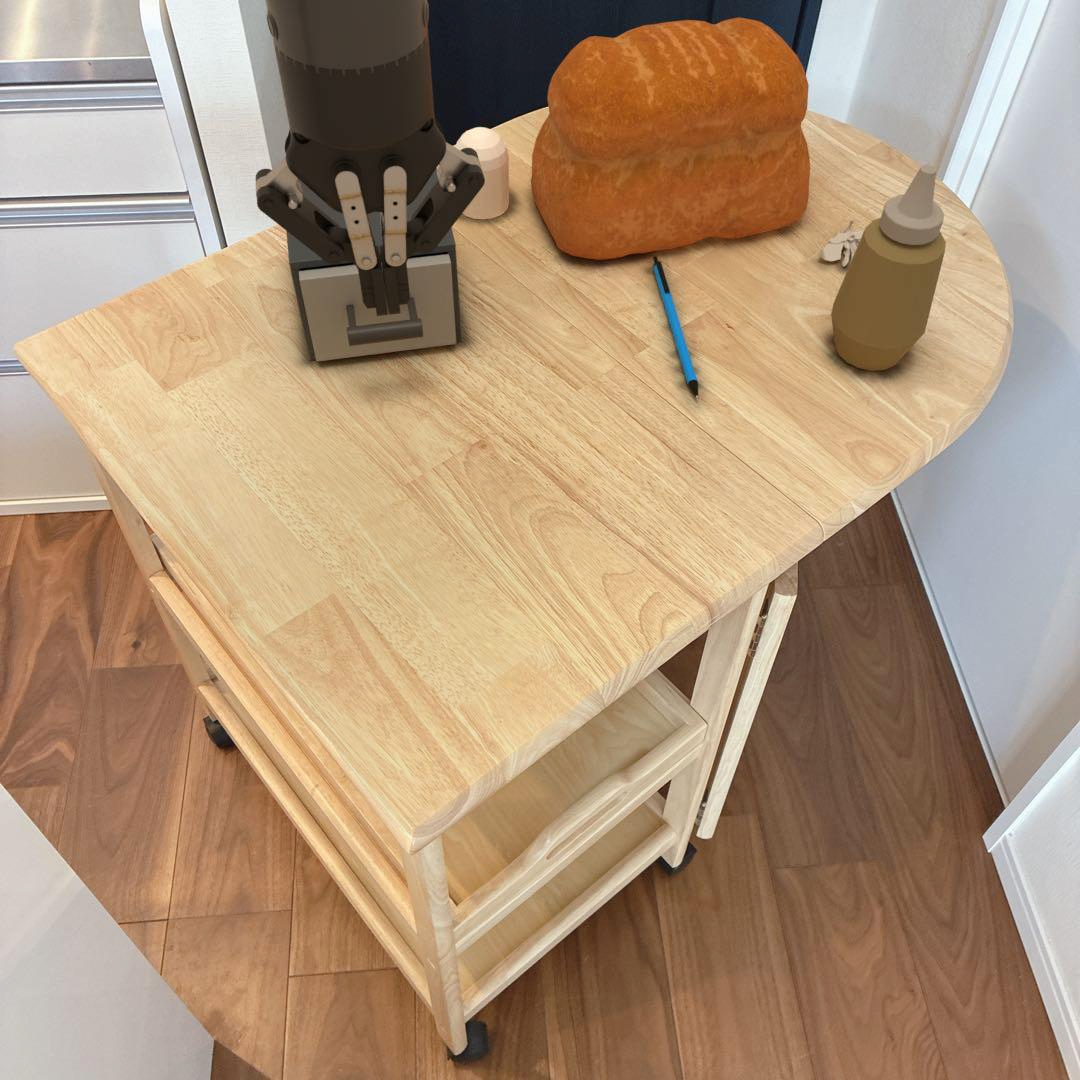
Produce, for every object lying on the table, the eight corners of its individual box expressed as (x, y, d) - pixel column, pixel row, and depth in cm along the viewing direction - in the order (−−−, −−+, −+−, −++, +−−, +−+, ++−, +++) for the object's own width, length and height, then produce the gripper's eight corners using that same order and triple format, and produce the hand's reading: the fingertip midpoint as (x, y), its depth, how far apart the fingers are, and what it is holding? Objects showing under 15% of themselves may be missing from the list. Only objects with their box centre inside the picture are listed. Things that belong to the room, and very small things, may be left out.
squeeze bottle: (924, 338, 95) (994, 157, 81) (899, 393, 91) (968, 212, 76) (838, 309, 97) (891, 129, 83) (809, 362, 93) (860, 181, 79)
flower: (909, 288, 101) (919, 268, 99) (831, 299, 100) (839, 279, 97) (881, 230, 104) (890, 210, 102) (805, 240, 103) (812, 220, 101)
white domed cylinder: (520, 202, 107) (519, 130, 101) (483, 226, 105) (480, 153, 98) (482, 182, 109) (479, 109, 103) (445, 204, 107) (440, 131, 100)
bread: (816, 232, 105) (860, 63, 91) (564, 276, 100) (570, 104, 86) (753, 147, 114) (784, -19, 100) (519, 183, 109) (519, 15, 96)
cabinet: (461, 341, 94) (455, 244, 86) (310, 360, 92) (289, 262, 84) (439, 244, 103) (431, 146, 95) (300, 259, 101) (280, 162, 93)
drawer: (464, 377, 90) (459, 296, 83) (319, 396, 88) (302, 315, 82) (435, 251, 101) (428, 169, 94) (306, 266, 99) (290, 184, 92)
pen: (659, 261, 101) (660, 251, 100) (701, 401, 90) (703, 391, 89) (649, 261, 101) (650, 252, 100) (691, 401, 89) (692, 392, 89)
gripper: (472, -23, 54) (483, 257, 68) (209, -1, 53) (274, 281, 66) (498, 49, 50) (503, 333, 63) (211, 75, 48) (280, 361, 62)
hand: (386, 306), depth 65 cm, fingers closed
